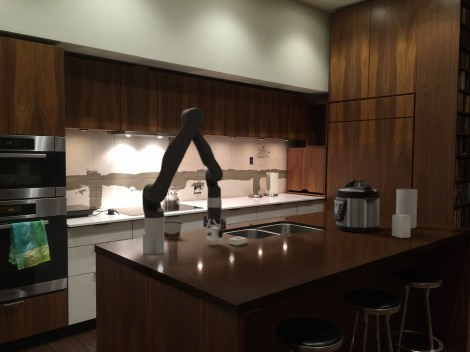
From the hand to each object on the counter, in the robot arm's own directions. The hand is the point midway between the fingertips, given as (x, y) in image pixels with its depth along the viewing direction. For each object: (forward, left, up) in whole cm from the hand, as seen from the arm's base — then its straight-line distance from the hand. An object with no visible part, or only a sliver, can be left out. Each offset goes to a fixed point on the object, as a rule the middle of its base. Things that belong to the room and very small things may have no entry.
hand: (214, 236), depth 205 cm
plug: (0, 0, -4) cm, 4 cm away
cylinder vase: (+123, -59, -4) cm, 136 cm away
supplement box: (+88, -67, -4) cm, 110 cm away
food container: (-2, +31, -4) cm, 31 cm away
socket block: (+9, -8, -4) cm, 13 cm away
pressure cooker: (+92, -38, -4) cm, 99 cm away
